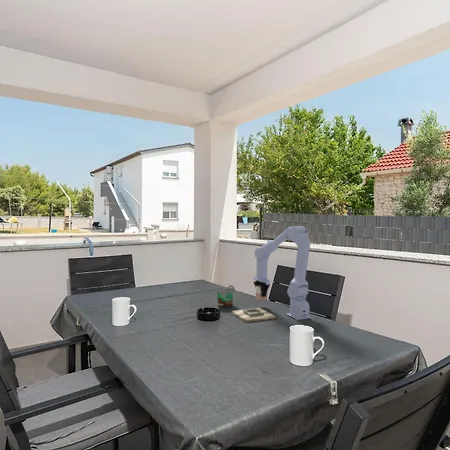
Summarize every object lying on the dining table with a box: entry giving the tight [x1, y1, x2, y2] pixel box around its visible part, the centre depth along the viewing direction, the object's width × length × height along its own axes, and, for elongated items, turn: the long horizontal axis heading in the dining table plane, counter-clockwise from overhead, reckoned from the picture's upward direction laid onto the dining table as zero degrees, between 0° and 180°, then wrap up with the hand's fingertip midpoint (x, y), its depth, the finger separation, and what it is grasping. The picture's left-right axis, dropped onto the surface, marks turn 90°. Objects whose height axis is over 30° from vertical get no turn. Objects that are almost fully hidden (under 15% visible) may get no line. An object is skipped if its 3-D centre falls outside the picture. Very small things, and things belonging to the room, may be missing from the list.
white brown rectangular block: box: [255, 286, 268, 301], centre depth 192 cm, size 4×4×7 cm
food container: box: [216, 284, 236, 308], centre depth 194 cm, size 12×6×10 cm, turn 143°
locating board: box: [231, 307, 277, 323], centre depth 175 cm, size 16×16×2 cm
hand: (261, 295), depth 192 cm, fingers closed on white brown rectangular block, 4 cm apart
